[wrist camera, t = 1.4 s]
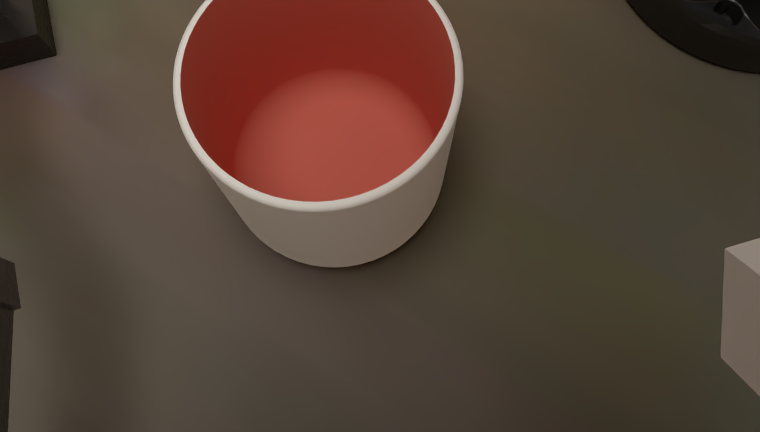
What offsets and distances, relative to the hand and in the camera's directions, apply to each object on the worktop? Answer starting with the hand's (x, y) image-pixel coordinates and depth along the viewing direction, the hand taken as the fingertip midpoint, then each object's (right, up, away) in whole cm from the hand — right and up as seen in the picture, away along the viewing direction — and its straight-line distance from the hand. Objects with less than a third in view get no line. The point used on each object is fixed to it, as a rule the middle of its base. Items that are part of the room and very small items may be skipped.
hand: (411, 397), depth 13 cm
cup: (-3, +6, +20) cm, 21 cm away
